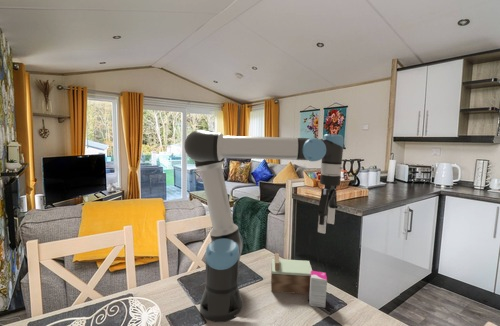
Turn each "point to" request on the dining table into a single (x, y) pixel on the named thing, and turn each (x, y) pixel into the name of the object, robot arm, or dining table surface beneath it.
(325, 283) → the supplement box
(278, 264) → the lid
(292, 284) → the box
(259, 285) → the dining table surface
